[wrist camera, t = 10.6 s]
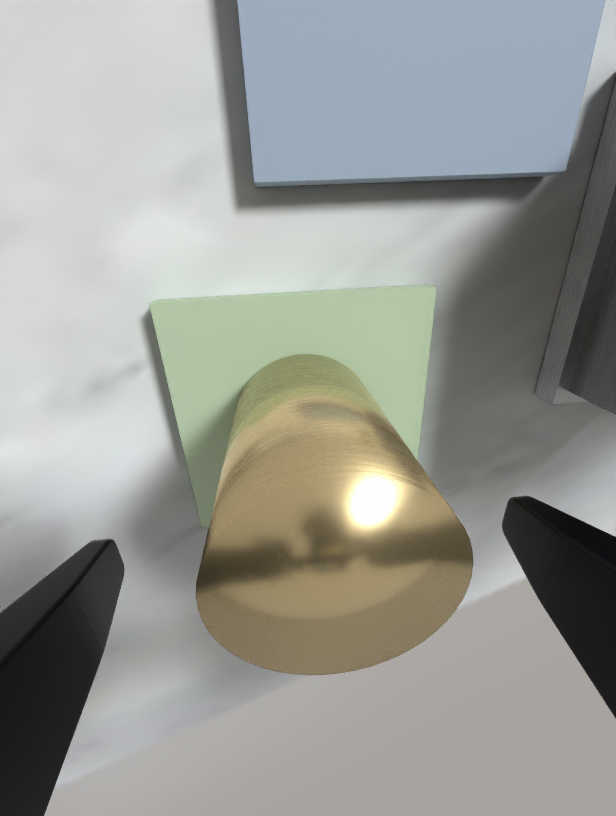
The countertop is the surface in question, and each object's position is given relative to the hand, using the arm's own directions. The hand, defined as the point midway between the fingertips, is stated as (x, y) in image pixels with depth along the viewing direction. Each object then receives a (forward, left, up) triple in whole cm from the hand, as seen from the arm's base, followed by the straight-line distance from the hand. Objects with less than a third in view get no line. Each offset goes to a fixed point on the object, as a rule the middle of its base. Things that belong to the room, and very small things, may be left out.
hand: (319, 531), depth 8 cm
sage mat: (0, 0, -6) cm, 6 cm away
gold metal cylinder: (0, 0, -5) cm, 5 cm away
